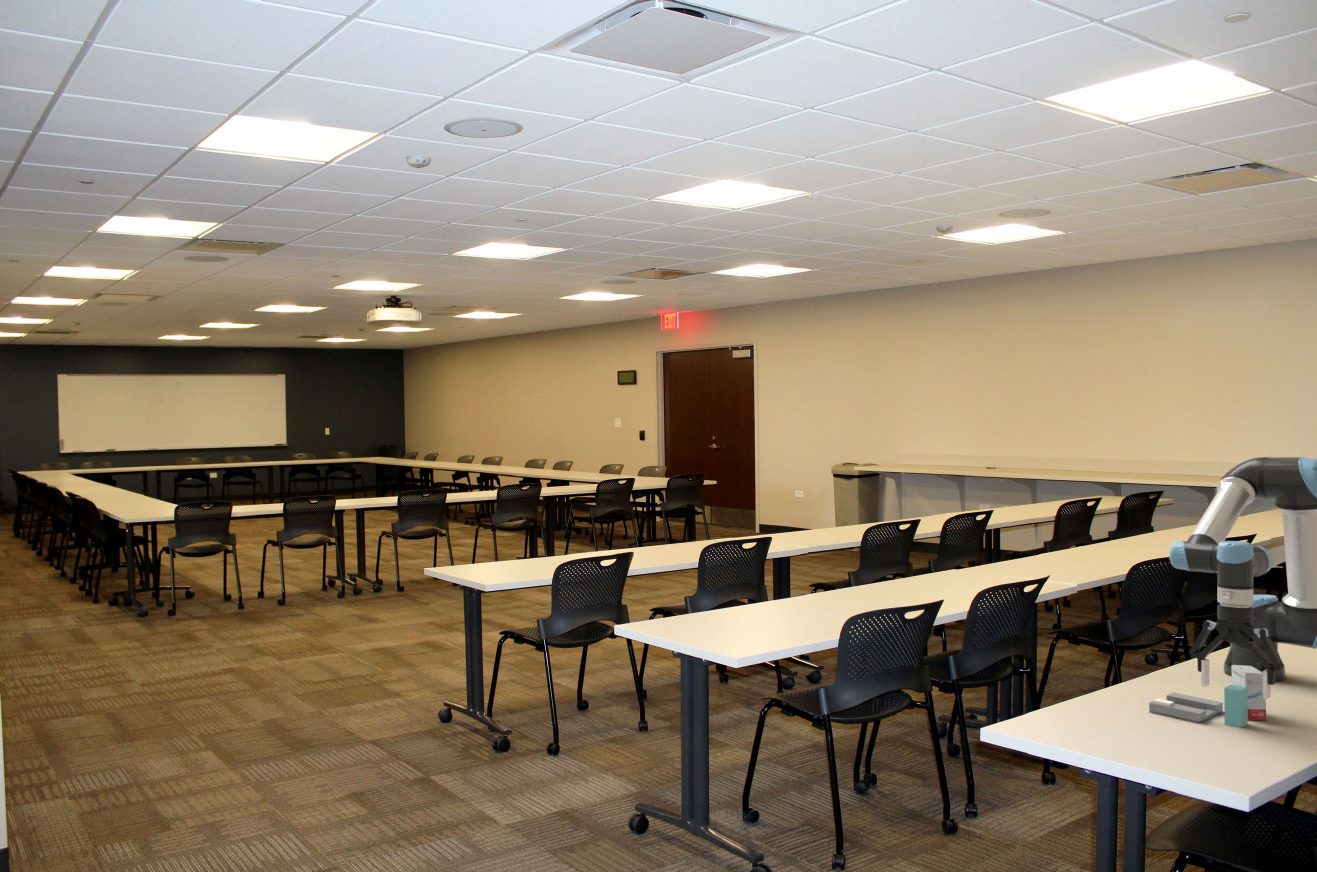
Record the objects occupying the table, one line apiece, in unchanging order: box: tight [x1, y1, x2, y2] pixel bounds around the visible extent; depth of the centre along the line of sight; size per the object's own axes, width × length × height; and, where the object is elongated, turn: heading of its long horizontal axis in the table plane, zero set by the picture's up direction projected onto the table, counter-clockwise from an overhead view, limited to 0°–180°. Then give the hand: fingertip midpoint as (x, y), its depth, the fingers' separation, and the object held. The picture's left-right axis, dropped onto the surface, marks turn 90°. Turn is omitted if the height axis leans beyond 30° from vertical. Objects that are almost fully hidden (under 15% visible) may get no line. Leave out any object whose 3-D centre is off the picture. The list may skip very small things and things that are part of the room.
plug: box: [1223, 684, 1249, 729], centre depth 227 cm, size 4×4×9 cm
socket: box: [1148, 691, 1224, 724], centre depth 237 cm, size 14×12×3 cm
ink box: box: [1231, 665, 1267, 721], centre depth 234 cm, size 9×5×12 cm, turn 168°
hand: (1235, 691), depth 227 cm, fingers open, 13 cm apart
